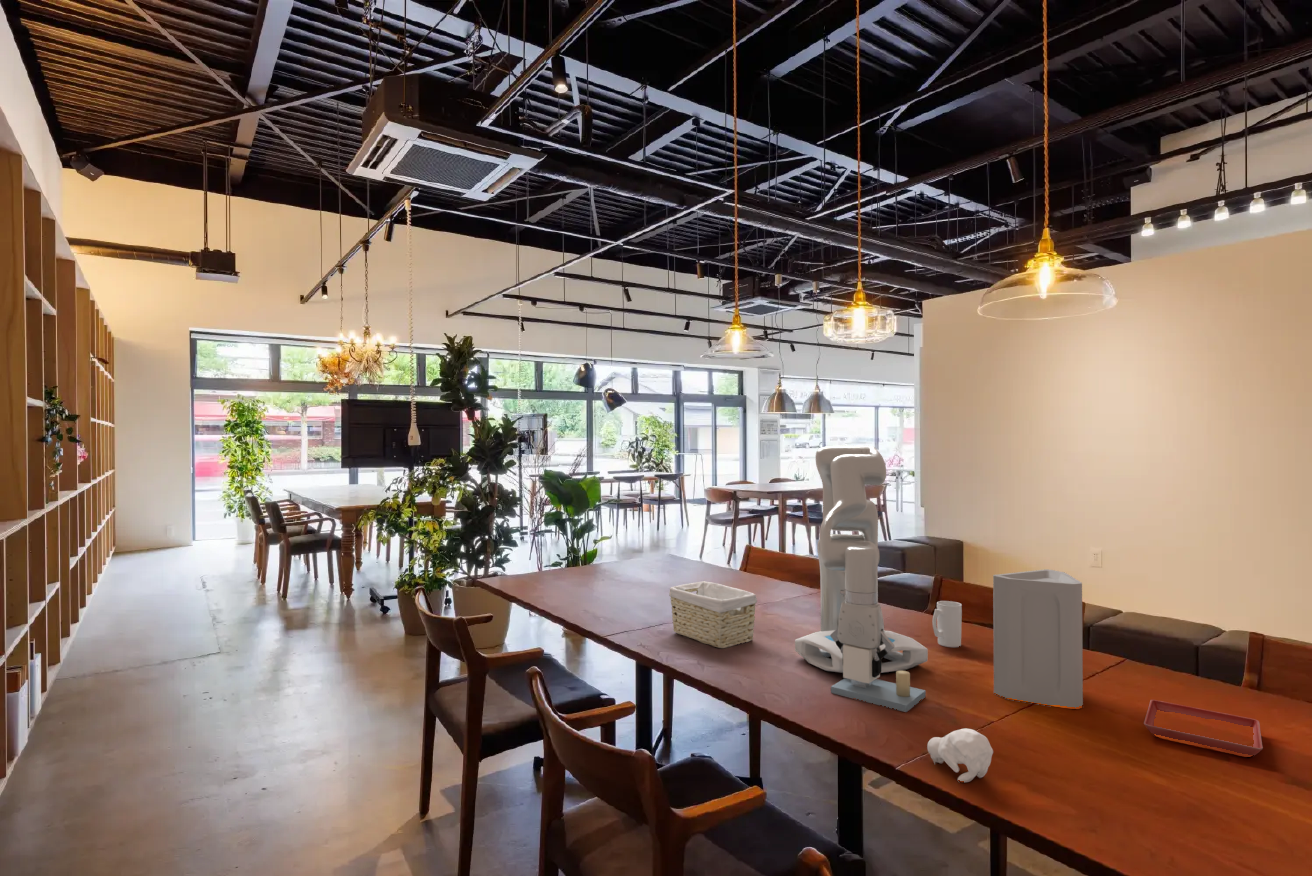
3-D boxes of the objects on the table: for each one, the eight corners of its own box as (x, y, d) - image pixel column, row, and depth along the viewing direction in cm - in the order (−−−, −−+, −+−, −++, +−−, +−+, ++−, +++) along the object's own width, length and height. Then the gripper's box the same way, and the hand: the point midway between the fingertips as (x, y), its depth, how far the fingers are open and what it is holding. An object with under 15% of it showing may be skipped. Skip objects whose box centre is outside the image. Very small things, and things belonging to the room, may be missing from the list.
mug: (948, 640, 206) (948, 600, 206) (967, 646, 200) (966, 604, 200) (923, 644, 201) (923, 603, 202) (942, 650, 195) (942, 608, 195)
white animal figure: (970, 738, 118) (915, 720, 128) (974, 790, 117) (919, 767, 127) (995, 731, 120) (939, 714, 131) (999, 781, 120) (943, 760, 130)
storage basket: (759, 641, 205) (759, 592, 205) (720, 652, 195) (720, 600, 195) (705, 625, 224) (705, 580, 224) (667, 633, 213) (667, 586, 214)
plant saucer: (1150, 712, 151) (1150, 697, 151) (1259, 735, 140) (1259, 718, 140) (1143, 740, 137) (1143, 723, 137) (1263, 767, 126) (1263, 749, 126)
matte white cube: (854, 670, 168) (854, 639, 168) (880, 676, 164) (879, 644, 164) (843, 677, 164) (843, 645, 164) (868, 683, 159) (868, 650, 159)
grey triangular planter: (1049, 716, 149) (1048, 587, 149) (992, 693, 162) (991, 575, 163) (1107, 703, 156) (1106, 580, 156) (1048, 682, 170) (1047, 569, 170)
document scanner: (929, 667, 179) (929, 643, 180) (841, 678, 169) (840, 653, 169) (876, 647, 199) (875, 625, 199) (793, 656, 189) (793, 633, 189)
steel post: (857, 680, 167) (857, 648, 167) (872, 684, 164) (871, 651, 164) (851, 684, 164) (851, 651, 164) (865, 688, 161) (865, 654, 161)
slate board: (852, 679, 172) (852, 653, 172) (925, 696, 160) (925, 669, 160) (831, 692, 163) (830, 665, 163) (906, 712, 151) (906, 682, 151)
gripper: (821, 595, 167) (821, 668, 167) (890, 606, 156) (891, 685, 155) (835, 590, 173) (835, 661, 172) (903, 600, 161) (903, 676, 161)
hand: (861, 672), depth 164 cm, fingers closed on matte white cube, 6 cm apart
